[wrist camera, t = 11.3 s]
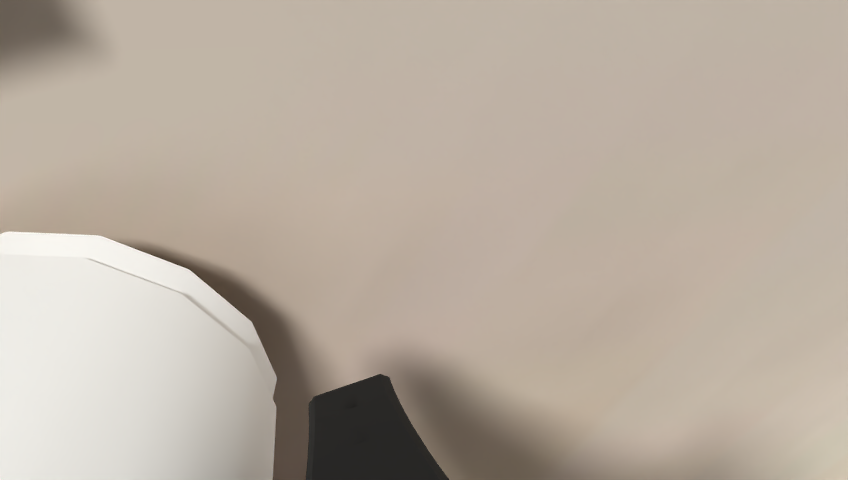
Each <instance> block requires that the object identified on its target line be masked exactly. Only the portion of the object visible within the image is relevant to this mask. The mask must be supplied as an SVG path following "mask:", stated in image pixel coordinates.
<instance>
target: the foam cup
mask: <svg viewBox="0 0 848 480" xmlns="http://www.w3.org/2000/svg"><path fill="white" fill-rule="evenodd" d="M276 381H277V377H276V374H275V372H274V370H273V368H272V366H271V363H270V361H269V359H268V357H267V354H266V352H265V350H264V348H263V346H262V343H261V341H260V339H259V337H258V335H257V332H256V330H255V328H254V326H253V323H252V322H251V321H250V320H249V319H248V318H246V317H245V316H244V315H243V314H242V313H241V312H239V311H238V310H237V309H236V308H235V307H233V306H232V305H231V304H230V303H229V302H227V301H226V300H225V299H224V298H223V297H221V296H220V295H219V294H218V293H217V292H215V291H214V290H213V289H212V288H211V287H209V286H208V285H207V284H206V283H205V282H203V281H202V280H201V279H200V278H199V277H198V276H196V275H195V274H194V273H193V272H192V271H190V270H189V269H186V268H184V267H181V266H179V265H176V264H173V263H171V262H168V261H165V260H163V259H160V258H158V257H155V256H152V255H150V254H147V253H144V252H142V251H139V250H137V249H134V248H131V247H129V246H126V245H123V244H121V243H118V242H116V241H113V240H110V239H108V238H105V237H102V236H99V235H76V234H53V233H30V232H5V233H2V234H0V480H273V464H274V446H275V427H276V408H277V407H276V405H275V403H274V401H273V395H274V390H275V386H276Z"/></svg>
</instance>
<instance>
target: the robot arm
mask: <svg viewBox="0 0 848 480" xmlns="http://www.w3.org/2000/svg"><path fill="white" fill-rule="evenodd" d="M306 480H449V479H448V477H447V476H446V475H445V473H444V472H443V471H442V469H441V468H440V467H439V465H438V464H437V462H436V461H435V460H434V458H433V457H432V455H431V454H430V452H429V451H428V449H427V448H426V446H425V445H424V443H423V442H422V440H421V438H420V437H419V435H418V434H417V432H416V430H415V429H414V427H413V426H412V424H411V422H410V420H409V419H408V417H407V415H406V413H405V412H404V410H403V408H402V406H401V404H400V402H399V400H398V398H397V395H396V393H395V391H394V389H393V386H392V384H391V381H390V378H389V377H387V376H384V375H381V374H379V375H376V376H373V377H370V378H367V379H364V380H361V381H359V382H356V383H353V384H350V385H347V386H344V387H341V388H338V389H335V390H332V391H329V392H326V393H323V394H320V395H318V396H315V397H314V398H313V399H312V401H311V402H310V403H309V447H308V462H307V472H306Z"/></svg>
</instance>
